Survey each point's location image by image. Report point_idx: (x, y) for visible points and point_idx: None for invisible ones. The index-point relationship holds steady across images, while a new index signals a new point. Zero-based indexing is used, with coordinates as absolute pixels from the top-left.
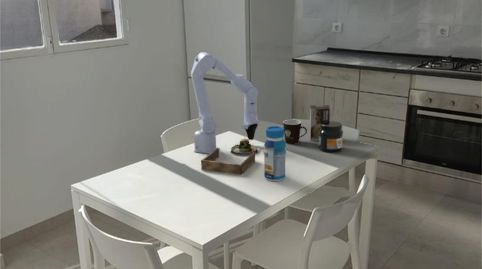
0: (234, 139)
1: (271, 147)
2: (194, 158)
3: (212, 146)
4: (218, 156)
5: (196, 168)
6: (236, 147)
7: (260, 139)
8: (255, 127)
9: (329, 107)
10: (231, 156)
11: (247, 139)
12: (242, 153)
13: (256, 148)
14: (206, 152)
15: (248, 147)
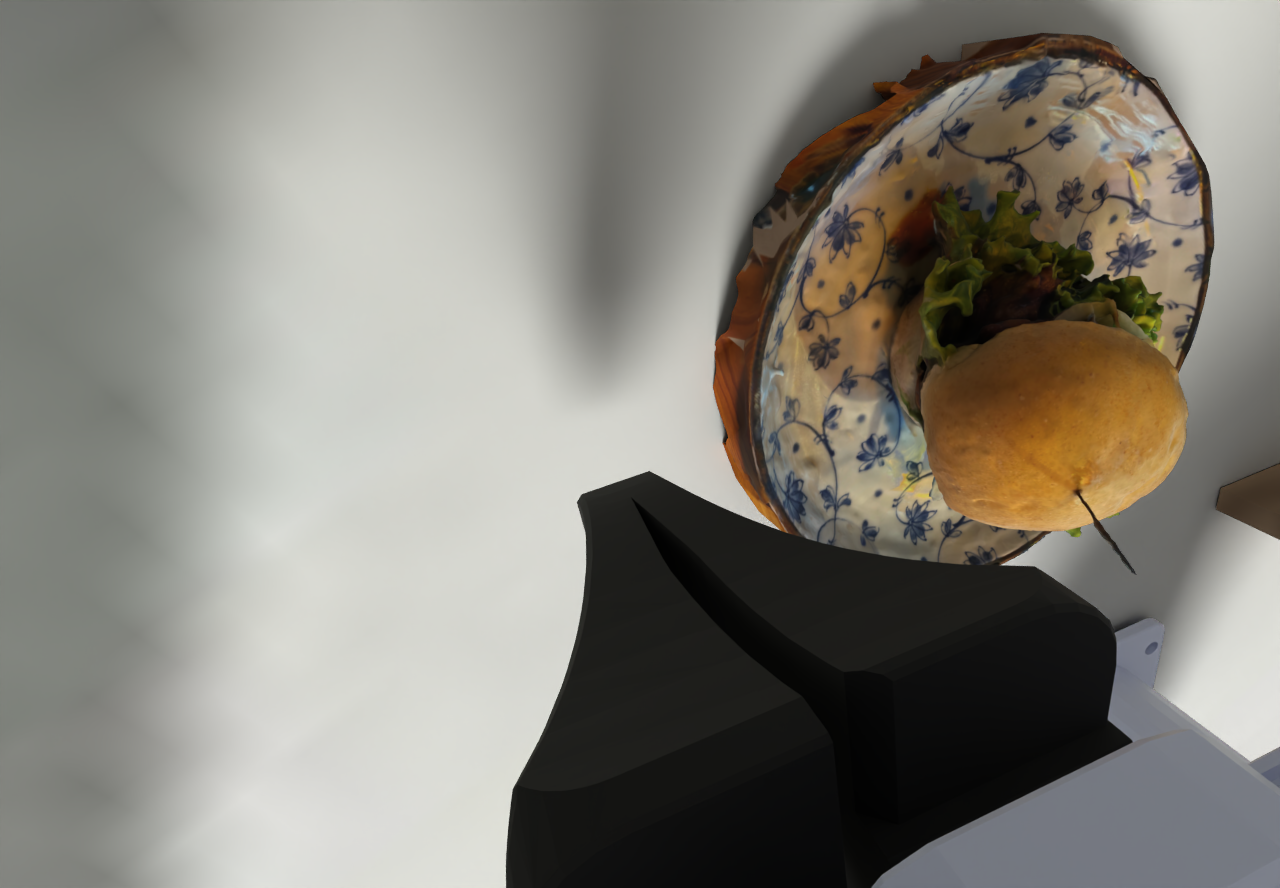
0: (474, 877)
1: None
2: (1276, 649)
3: (1181, 717)
4: (1250, 486)
5: None
6: (901, 541)
7: (43, 566)
8: (877, 635)
9: None
10: (1189, 361)
11: (1118, 387)
12: (1166, 240)
13: (916, 112)
14: (1153, 685)
15: (1060, 251)
